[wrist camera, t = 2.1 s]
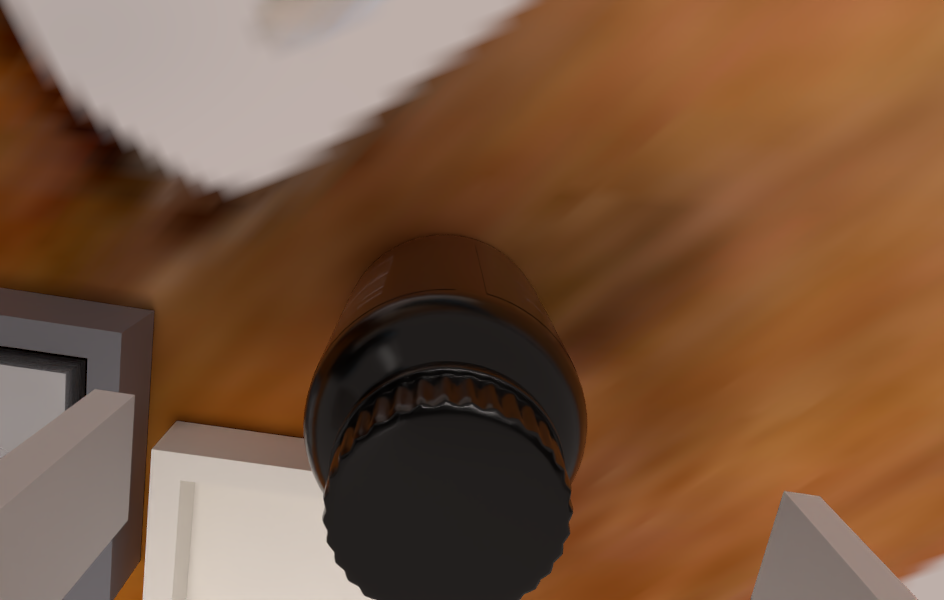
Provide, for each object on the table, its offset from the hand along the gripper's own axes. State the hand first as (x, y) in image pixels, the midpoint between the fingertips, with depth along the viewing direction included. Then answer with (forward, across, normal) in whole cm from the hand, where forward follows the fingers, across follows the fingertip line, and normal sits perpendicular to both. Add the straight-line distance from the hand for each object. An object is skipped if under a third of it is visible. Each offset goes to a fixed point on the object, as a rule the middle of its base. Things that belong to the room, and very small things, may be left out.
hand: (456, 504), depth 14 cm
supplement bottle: (+11, 0, 0) cm, 11 cm away
